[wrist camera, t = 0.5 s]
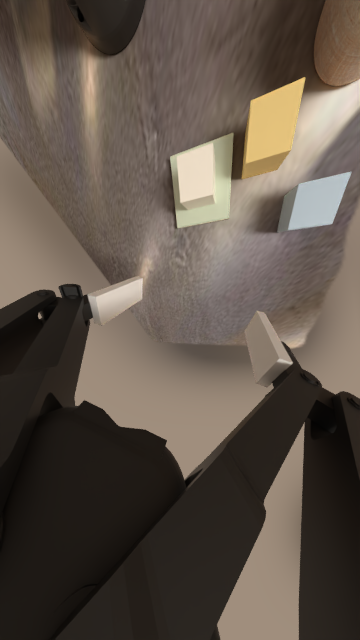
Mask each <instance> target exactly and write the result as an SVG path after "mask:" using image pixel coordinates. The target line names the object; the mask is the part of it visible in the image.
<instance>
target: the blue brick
mask: <svg viewBox="0 0 360 640" xmlns="http://www.w3.org/2000/svg"><path fill="white" fill-rule="evenodd" d="M350 175H351V172H348V173H344V174H339V175H335V176H331V177H326V178H322V179H318V180H314V181H309V182H305V183H301V184H298V185H297V186H296V187H295V188H293V189H292V190H291V191H290V192H288V193H287V194H286V195H285V196H284V200H283V205H282V210H281V215H280V220H279V225H278V230H277V233H279V232H286V231H293V230H300V229H307V228H313V227H319V226H324V225H329V224H332V223H333V220H334V218H335V215H336V212H337V210H338V207H339V204H340V202H341V199H342V196H343V193H344V191H345V188H346V185H347V183H348V180H349V177H350Z"/></svg>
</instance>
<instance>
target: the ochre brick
mask: <svg viewBox="0 0 360 640" xmlns="http://www.w3.org/2000/svg"><path fill="white" fill-rule="evenodd" d="M304 82H305V77H304V78H302V79H299V80H297V81H295V82H292V83H290V84H288V85H286V86H283V87H281V88H279V89H277V90H274V91H272V92H270V93H267V94H265V95H263V96H261V97H258V98H256V99H254V100H251V104H250V110H249V115H248V121H247V126H246V132H245V144H244V156H243V168H242V179H245V178H249V177H252V176H256V175H260V174H263V173H267V172H271V171H274V170H277V169H278V168H279V167H280V165H281V164H282V162H283V161H284V159H285V158H286V156H287V155H288V154H289V152H290V151H291V147H292V142H293V137H294V132H295V127H296V122H297V117H298V112H299V107H300V102H301V97H302V92H303V87H304Z"/></svg>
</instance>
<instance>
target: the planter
mask: <svg viewBox="0 0 360 640" xmlns="http://www.w3.org/2000/svg"><path fill="white" fill-rule="evenodd" d="M314 64H315V69H316V72H317V74H318V76H319V78H320V79H321V80H322V81H323V82H324V83H326V84H328V85H331V86H342V85H346V84H349V83H351V82H354V81H356V80H358V79H360V0H326V1H325V4H324V7H323V10H322V13H321V16H320V20H319V23H318V27H317V31H316V36H315V43H314Z"/></svg>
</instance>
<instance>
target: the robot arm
mask: <svg viewBox="0 0 360 640" xmlns="http://www.w3.org/2000/svg"><path fill="white" fill-rule="evenodd" d="M66 2H67V4H68V6H69V8H70V10H71V12H72V14H73V16H74V18H75V19H76V21H77V22H78V24H79V25H80V27H81V28H82V30H83V32H84V33H85V35H86V36H87V38H88V39H89V40H90V42H91V43H92V44H93V45H94V46H95V47H96V48H97V49H98V50H100V51H101V52H103V53H106V54H114V53H117V52H119V51H121V50H122V49H123V48H124V47H125V46H126V45H127V44H128V43H129V41H130V40H131V38H132V36H133V35H134V33H135V31H136V28H137V26H138V24H139V21H140V18H141V15H142V11H143V8H144V4H145V0H66ZM142 285H143V278H142V277H138V276H136V277H133V278H130V279H128V280H125V281H122V282H119V283H117V284H114V285H111V286H109V287H106V288H103V289H100V290H98V291H95V292H92V293H89V294H87V295H84V296H83V295H82V290H81V287H80V286H79V285H76V284H65V285H61V286H59V290H60V293H61V295H62V298H61V297H56V295H55V292H53V291H51V290H39V291H35V292H33V293H31V294H28V295H27V296H25V297H23V298H21V299H19V300H17V301H15V302H13V303H11V304H9V305H7V306H6V307H4V308H2V309H0V640H220V636H219V632H218V627H217V623H218V621H219V619H220V616H221V614H222V612H223V610H224V608H225V606H226V603H227V602H228V599H229V597H230V595H231V593H232V591H233V589H234V587H235V584H236V582H237V580H238V578H239V576H240V574H241V572H242V570H243V567H244V565H245V563H246V561H247V559H248V557H249V555H250V553H251V550H252V548H253V546H254V544H255V542H256V540H257V538H258V536H259V533H260V531H261V529H262V527H263V524H264V521H265V517H266V510H265V507H264V499H265V497H266V495H267V493H268V491H269V489H270V487H271V485H272V483H273V481H274V479H275V477H276V475H277V474H278V472H279V470H280V468H281V466H282V464H283V462H284V460H285V458H286V456H287V454H288V452H289V451H290V449H291V447H292V445H293V443H294V441H295V439H296V437H297V435H298V433H299V431H300V429H301V427H302V426H303V424H304V422H305V429H304V461H303V491H302V522H301V553H300V554H301V555H300V557H301V558H300V584H299V585H300V586H299V640H360V399H359V398H357V397H356V396H354V395H352V394H350V393H348V392H344V391H343V392H340V393H338V394H336V395H335V394H333V393H331V392H329V391H328V390H326V389H324V388H322V385H321V383H320V381H319V380H318V379H317V378H316V377H315V376H313V375H312V374H311V373H309V372H307V371H306V370H303V369H302V368H301V366H300V365H299V363H298V361H297V360H296V358H295V357H294V355H293V353H292V352H291V350H290V348H289V347H288V346H287V345H286V344H285V343H284V342H282V341H280V339H279V337H278V336H277V334H276V332H275V330H274V329H273V327H272V325H271V323H270V321H269V320H268V318H267V316H266V314H265V313H263V312H260V311H256V313H255V315H254V316H253V318H252V320H251V321H250V323H249V325H248V326H247V328H246V330H245V335H246V340H247V345H248V349H249V354H250V358H251V363H252V367H253V372H254V376H255V381H256V383H257V384H260V385H262V386H265V387H268V386H269V385H270V384H271V383H273V386H274V389H272V390H271V391H270V392H269V393H268V394H267V395H266V396H265V398H264V399H263V400H262V401H261V402H260V403H259V404H258V405H257V406H256V407H255V408H254V409H253V410H252V411H251V412H250V413H249V414H248V415H247V416H246V417H245V418H244V420H243V421H242V422H241V423H240V424H239V425H238V426H237V427H236V428H235V429H234V430H233V431H232V432H231V433H230V434H229V435H228V436H227V437H226V438H225V439H224V440H223V441H222V442H221V443H220V445H219V446H218V447H217V448H216V449H215V450H214V451H213V452H212V453H211V454H210V455H209V456H208V457H207V458H206V459H205V460H204V461H203V462H202V463H201V464H200V465H199V466H198V467H197V468H196V469H195V470H194V471H193V472H192V473H191V474H190V475H189V476H188V477H187V478H186V479H185V480H184V478H183V475H182V472H181V469H180V467H179V465H178V463H177V461H176V460H175V458H174V456H173V455H172V453H171V452H170V451H169V450H168V449H167V448H166V447H165V445H166V442H167V440H165V439H163V438H161V437H159V436H157V435H155V434H153V433H150V432H149V431H147V430H143V429H134V428H125V427H119V426H118V425H117V424H116V423H115V422H114V421H113V420H112V419H111V418H110V416H109V415H108V414H106V412H105V411H104V410H103V409H101V408H99V407H97V406H95V405H93V404H91V403H89V402H87V401H83V402H82V403H81V404H80V405H79V406H75V400H74V396H75V391H76V386H77V382H78V376H79V372H80V368H81V363H82V358H83V354H84V349H85V344H86V340H87V335H88V331H89V325H90V320H89V319H91V318H93V319H94V323H95V324H98V325H101V326H102V325H103V324H105V323H107V322H108V321H109V320H111V319H113V318H114V317H116V316H117V315H119V314H120V313H122V312H123V311H125V310H126V309H128V308H129V307H131V306H132V305H134V304H135V303H137V302H138V301H140V300H141V299H142ZM39 312H40V314H41V316H42V318H41V319H38V313H39Z"/></svg>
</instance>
